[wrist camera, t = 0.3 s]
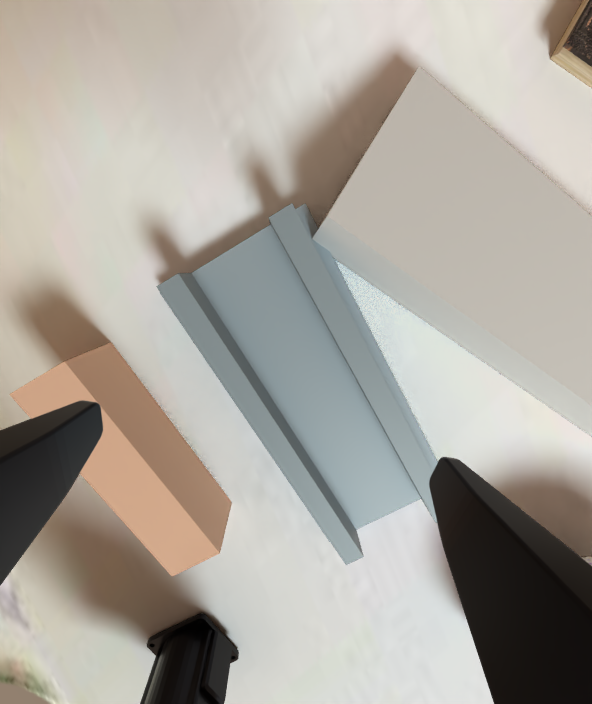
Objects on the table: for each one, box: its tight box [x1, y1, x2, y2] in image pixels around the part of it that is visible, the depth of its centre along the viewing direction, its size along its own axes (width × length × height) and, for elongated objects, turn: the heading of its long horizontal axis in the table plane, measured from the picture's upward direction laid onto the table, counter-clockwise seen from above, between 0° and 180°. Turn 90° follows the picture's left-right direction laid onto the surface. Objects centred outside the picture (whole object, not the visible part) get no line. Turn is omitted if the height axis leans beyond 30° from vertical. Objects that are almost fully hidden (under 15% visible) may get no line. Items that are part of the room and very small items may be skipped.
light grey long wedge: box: [312, 66, 592, 437], centre depth 21 cm, size 34×5×10 cm
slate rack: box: [157, 203, 438, 565], centre depth 22 cm, size 11×24×4 cm, turn 29°
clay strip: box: [10, 343, 232, 576], centre depth 22 cm, size 4×16×5 cm, turn 29°
